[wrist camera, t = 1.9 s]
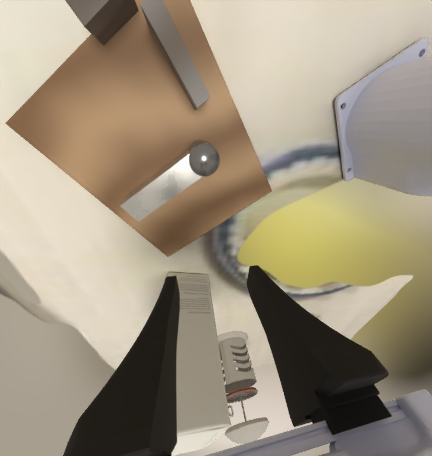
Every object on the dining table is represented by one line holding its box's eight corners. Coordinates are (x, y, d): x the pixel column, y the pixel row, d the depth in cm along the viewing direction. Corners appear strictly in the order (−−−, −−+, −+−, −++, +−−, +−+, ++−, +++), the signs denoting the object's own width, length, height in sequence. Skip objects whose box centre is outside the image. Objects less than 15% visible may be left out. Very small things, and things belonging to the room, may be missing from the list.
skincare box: (197, 304, 29) (208, 447, 16) (159, 304, 27) (137, 466, 14) (209, 272, 25) (236, 429, 12) (165, 269, 23) (143, 451, 10)
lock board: (268, 188, 19) (283, 199, 16) (168, 251, 21) (166, 271, 19) (167, -41, 10) (160, -111, 7) (12, 119, 12) (-41, 117, 9)
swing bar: (204, 134, 14) (208, 136, 12) (218, 158, 15) (225, 165, 13) (126, 193, 16) (116, 205, 13) (145, 211, 17) (139, 225, 14)
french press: (229, 352, 44) (271, 558, 23) (195, 347, 38) (209, 609, 18) (255, 335, 40) (331, 556, 20) (222, 326, 35) (278, 617, 14)
